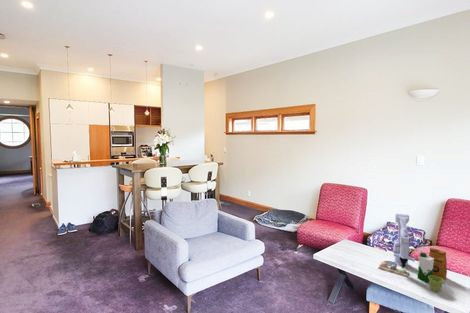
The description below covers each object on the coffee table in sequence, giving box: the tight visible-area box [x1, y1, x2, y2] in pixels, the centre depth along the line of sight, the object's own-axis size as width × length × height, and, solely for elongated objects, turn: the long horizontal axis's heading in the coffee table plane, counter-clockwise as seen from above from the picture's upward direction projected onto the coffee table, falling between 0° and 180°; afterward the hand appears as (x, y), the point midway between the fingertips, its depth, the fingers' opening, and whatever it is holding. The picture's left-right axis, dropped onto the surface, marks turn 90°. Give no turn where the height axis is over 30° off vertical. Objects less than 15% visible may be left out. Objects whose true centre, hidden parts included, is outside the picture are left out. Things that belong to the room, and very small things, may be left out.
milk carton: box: [417, 252, 434, 283], centre depth 213 cm, size 9×9×20 cm
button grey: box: [390, 264, 397, 271], centre depth 227 cm, size 4×4×3 cm
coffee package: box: [428, 247, 448, 281], centre depth 219 cm, size 10×12×22 cm
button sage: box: [399, 268, 407, 274], centre depth 222 cm, size 4×4×3 cm
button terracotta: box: [380, 261, 388, 268], centre depth 231 cm, size 4×4×3 cm
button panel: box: [377, 263, 410, 278], centre depth 227 cm, size 21×8×2 cm, turn 50°
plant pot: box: [428, 275, 445, 293], centre depth 199 cm, size 9×9×9 cm
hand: (403, 267), depth 222 cm, fingers closed
